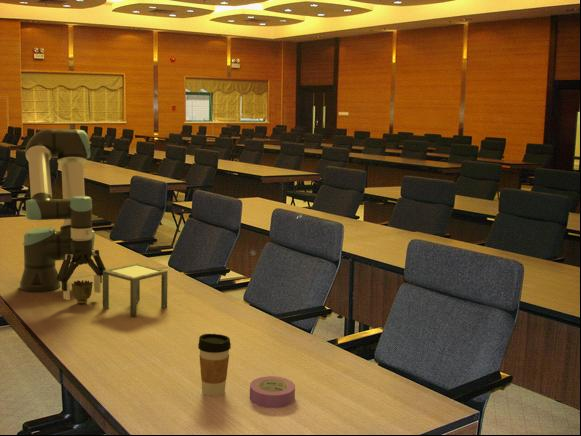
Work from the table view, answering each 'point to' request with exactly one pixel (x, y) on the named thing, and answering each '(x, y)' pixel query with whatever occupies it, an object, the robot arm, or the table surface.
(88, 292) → the dark piece
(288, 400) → the masking tape
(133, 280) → the trapdoor frame
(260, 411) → the table surface
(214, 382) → the coffee cup
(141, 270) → the trapdoor
